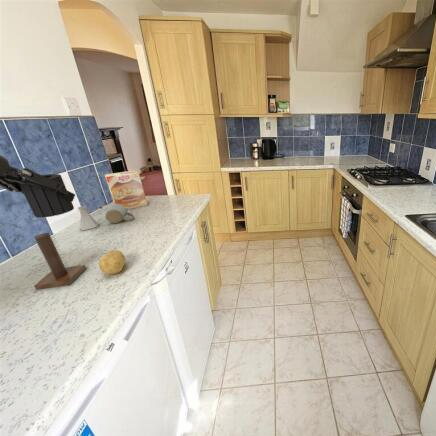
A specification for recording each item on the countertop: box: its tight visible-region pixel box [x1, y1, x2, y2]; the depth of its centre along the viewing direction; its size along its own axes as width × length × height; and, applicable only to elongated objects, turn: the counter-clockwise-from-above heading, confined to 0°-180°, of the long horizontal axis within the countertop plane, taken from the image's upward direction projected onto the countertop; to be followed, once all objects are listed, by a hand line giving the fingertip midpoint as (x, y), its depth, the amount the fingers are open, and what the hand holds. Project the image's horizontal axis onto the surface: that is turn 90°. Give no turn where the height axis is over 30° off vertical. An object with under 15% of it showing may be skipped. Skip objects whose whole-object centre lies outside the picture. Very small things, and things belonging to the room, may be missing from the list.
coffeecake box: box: [104, 169, 148, 210], centre depth 134 cm, size 15×7×20 cm, turn 132°
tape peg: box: [33, 232, 87, 290], centre depth 74 cm, size 9×9×16 cm
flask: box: [77, 205, 100, 231], centre depth 112 cm, size 7×7×10 cm
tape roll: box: [19, 173, 75, 218], centre depth 81 cm, size 10×10×12 cm
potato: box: [98, 249, 127, 275], centre depth 80 cm, size 7×11×6 cm, turn 22°
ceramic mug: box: [105, 203, 135, 224], centre depth 119 cm, size 11×8×8 cm
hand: (58, 198), depth 85 cm, fingers closed on tape roll, 10 cm apart
